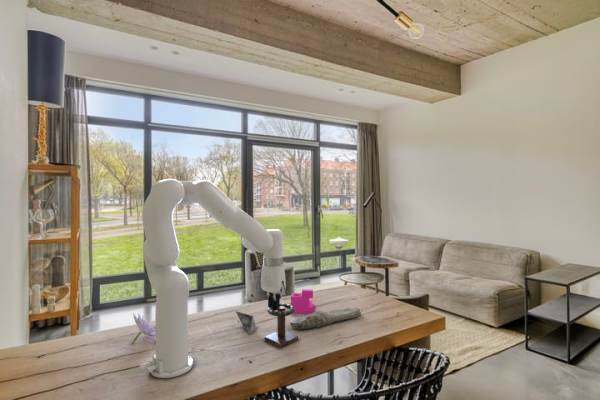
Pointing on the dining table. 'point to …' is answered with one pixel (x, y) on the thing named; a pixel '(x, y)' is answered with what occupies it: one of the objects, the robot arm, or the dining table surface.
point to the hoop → (286, 313)
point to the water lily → (144, 328)
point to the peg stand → (281, 332)
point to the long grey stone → (324, 318)
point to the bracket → (302, 301)
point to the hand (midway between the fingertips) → (273, 308)
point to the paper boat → (247, 321)
